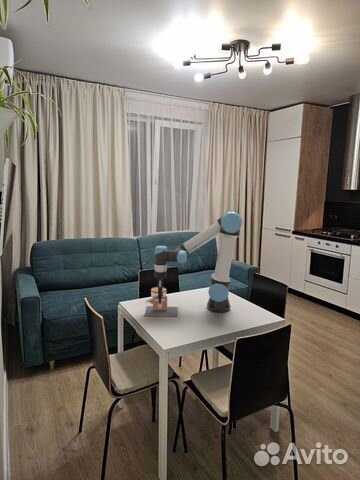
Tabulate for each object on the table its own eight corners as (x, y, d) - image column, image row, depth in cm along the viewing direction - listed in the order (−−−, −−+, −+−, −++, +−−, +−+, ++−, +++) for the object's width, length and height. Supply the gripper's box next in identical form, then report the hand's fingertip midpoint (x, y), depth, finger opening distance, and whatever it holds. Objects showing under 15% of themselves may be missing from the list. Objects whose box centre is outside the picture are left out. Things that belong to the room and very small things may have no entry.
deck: (152, 307, 205) (153, 295, 204) (167, 308, 206) (167, 296, 204) (152, 309, 203) (152, 296, 202) (167, 309, 203) (167, 297, 202)
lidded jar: (169, 299, 227) (169, 286, 226) (160, 303, 218) (160, 290, 217) (156, 296, 233) (157, 283, 231) (147, 300, 224) (147, 287, 222)
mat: (177, 307, 212) (177, 306, 212) (177, 317, 196) (177, 316, 196) (146, 307, 211) (146, 306, 211) (144, 316, 196) (144, 315, 195)
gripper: (155, 267, 208) (154, 302, 212) (153, 273, 193) (153, 311, 197) (166, 268, 208) (166, 303, 212) (166, 274, 193) (165, 311, 197)
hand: (160, 307), depth 204 cm, fingers closed on deck, 2 cm apart
